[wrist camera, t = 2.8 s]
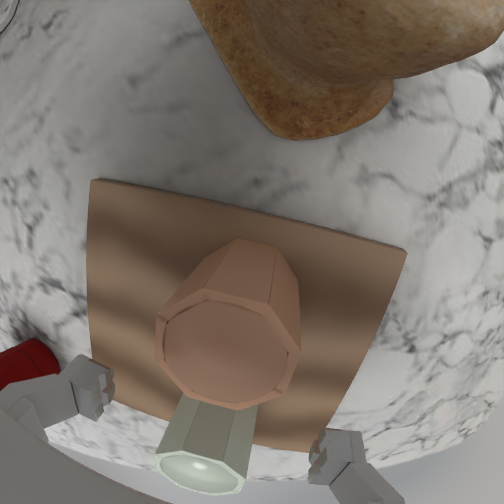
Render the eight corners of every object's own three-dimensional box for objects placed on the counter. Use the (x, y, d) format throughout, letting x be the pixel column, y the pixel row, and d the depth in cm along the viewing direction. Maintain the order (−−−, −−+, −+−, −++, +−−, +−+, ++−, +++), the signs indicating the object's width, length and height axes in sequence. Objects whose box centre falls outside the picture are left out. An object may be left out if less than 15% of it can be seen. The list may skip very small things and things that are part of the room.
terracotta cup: (209, 231, 19) (159, 275, 12) (305, 254, 19) (315, 314, 11) (195, 314, 21) (153, 385, 14) (281, 336, 21) (274, 418, 13)
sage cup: (188, 370, 23) (154, 441, 15) (263, 389, 23) (251, 467, 15) (183, 415, 25) (156, 479, 17) (247, 432, 25) (234, 500, 17)
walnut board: (98, 178, 20) (90, 179, 19) (402, 248, 19) (407, 253, 18) (101, 387, 27) (97, 392, 26) (309, 445, 26) (309, 452, 25)
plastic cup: (80, 354, 26) (14, 426, 15) (75, 405, 29) (28, 465, 18) (14, 300, 26) (-56, 348, 14) (17, 358, 29) (-35, 405, 18)
